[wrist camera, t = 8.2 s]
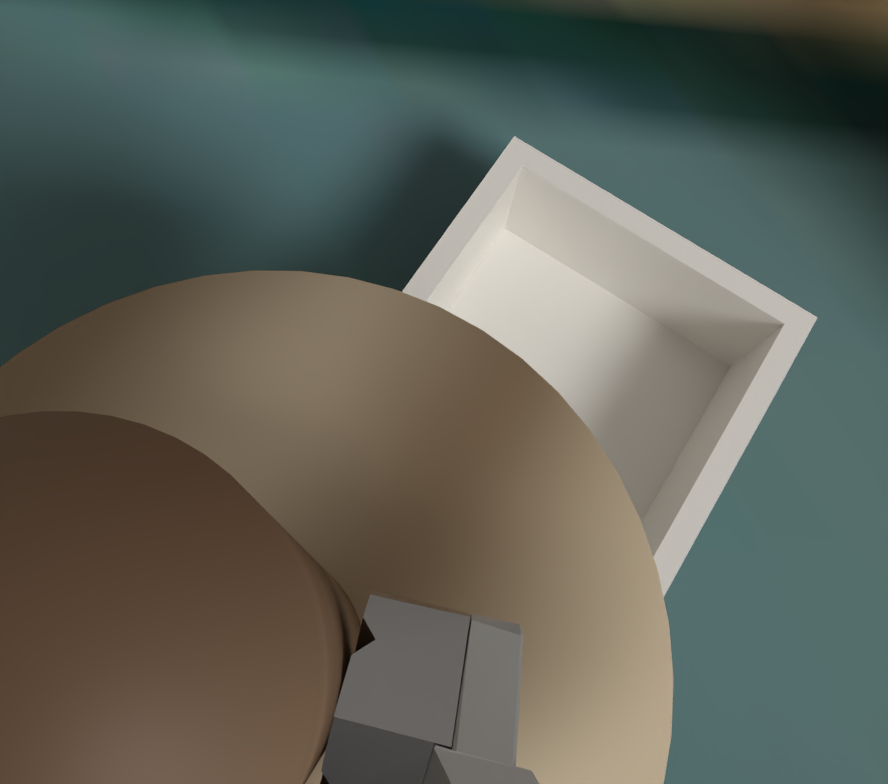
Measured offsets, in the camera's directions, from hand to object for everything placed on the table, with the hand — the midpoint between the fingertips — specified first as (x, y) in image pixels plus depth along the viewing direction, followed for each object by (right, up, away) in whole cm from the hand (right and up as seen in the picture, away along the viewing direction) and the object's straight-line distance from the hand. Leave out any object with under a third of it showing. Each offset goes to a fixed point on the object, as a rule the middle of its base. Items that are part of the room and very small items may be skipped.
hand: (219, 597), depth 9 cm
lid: (0, -2, +5) cm, 5 cm away
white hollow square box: (+5, +2, +19) cm, 20 cm away
